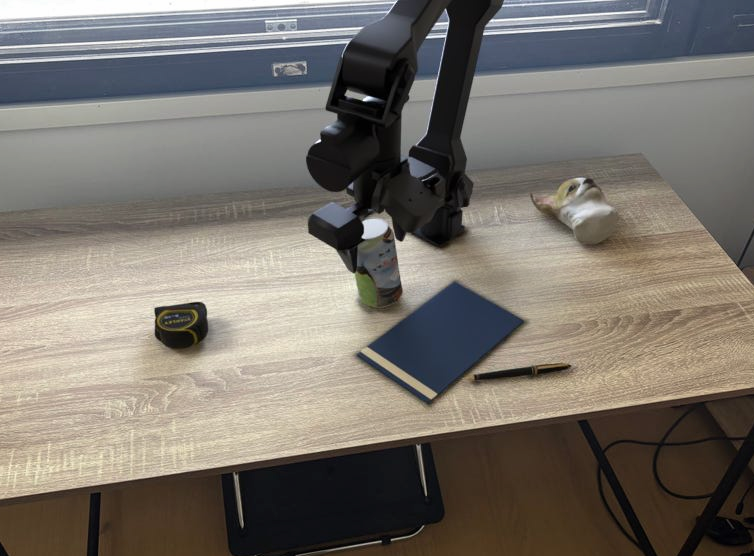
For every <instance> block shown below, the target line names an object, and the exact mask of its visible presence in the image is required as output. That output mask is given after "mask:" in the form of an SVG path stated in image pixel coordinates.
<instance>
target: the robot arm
mask: <svg viewBox="0 0 754 556" xmlns="http://www.w3.org/2000/svg"><path fill="white" fill-rule="evenodd" d="M504 1H505V0H396V1H395V2H394V4H393V5H392V6H391V8H390V9H389V11H388V12H387V13H386V14H385V16H384V17H382V18H381V19H378V20H375V21H373V22H370V23H369V24H366V25H364V26H363V27H362V28H361V29H360V30H359V31H358V32H357V33H356V34H355V35H354V36H353V37H352V38H351V39H350V40H349V41H348V43H346V45H345V47H344V48H343V50H342V51H341V54H340V56H339V59H338V63H337V66H336V70H335V73H334V76H333V80H332V83H331V87H330V90H329V94H328V97H327V100H326V104H325V111H326V112H329V113H332V114H336V119H337V120H336V121H333V123H331V124H330V125H327V126H325V127H324V128H323V129H321V131H320V133H319V139H318V140H317V141H316V142H315V143H314V144H312V145H311V146H310V147H309V148H308V150H307V155H306V156H305V164H306V168H307V170H308V173H309V174H310V177H311V178H312V179H313V181H314V182H315V183H316V184H317V185H318V186H320V187H321V188H322V189H324V190H326V191H328V192H331V193H341V192H343V191H346V194H347V195H348V196H350V197H352V198H353V199H354V202H355V203H354V204H352V205H351V206H349V207H347V208H344V207H342V206H341V205H339V204H337V203H335V202H333V201H331V202H330V203H328V204H326V205H325V206H323V207H321V208H319V209H318V210H316V211H314V212H313V213H311V214H309V216H307V230H308V231H307V232H308V234H309V235H311V236H312V237H314V238H315V239H317V240H319V241H320V242H322V243H324V244H325V245H328V246H329V247H331V248H332V249H335V251H336V253H337V254H338V256H339V258H340V259H341V262H343V264H344V265H345V267H346V269H347V270H348V271H349V272H350V273H352V274H355V272H356V269H357V257H358V245H359V244H361V243H362V242H364V241H365V239H364V238H362V236H363V234H364V225H363V223H362V222H363V221H365V220H366V219H368V218H372V217H373V216H374V215H376V214H378V215H380V214H382V213H384V212H386V214H387V215H388V216H389V217H390V218H391V222H392V223H391V224H392V231H393V233H394V238H395V240H397V241H398V242H404V240H405V238H406V236H407V234H413V235H415V236H416V237H418V238H420V239H423V241H426V242H427V243H429V244H431V245H433V246H435V247H436V248H441V247H442V246H444V245H446V244H447V243H448V242H450V241H451V240H453V239H454V238H456V237H457V236H458V235H459V234H460V235H461V233H463V232H465V230H466V226H465V225H464V224H462V223H463V215H464V211H463V210H462V209H463V208H468V207H469V206H470V202H471V197H472V194H473V189H474V182H473V181H472V180H471V179H470V177H469V176H468V175H467V174H466V167H467V161H468V158H467V157H468V156H467V154H466V150H465V148H464V145H463V141H462V138H461V136H462V132H463V127H464V122H465V118H466V113H467V108H468V104H469V101H470V100H469V99H470V95H471V91H472V87H473V83H474V79H475V78H474V77H475V73H476V69H477V64H478V59H479V55H480V50H481V45H482V41H483V38H484V32H485V29H486V26H487V25H488V24H489V23H490V22H491V20H492V19H493V18H494V17H495V16H496V15H497V14H498V13H499V11H500V10H501V9H502V7H503V5H504ZM444 12H445V13H446V16H447V20H448V23H447V28H446V33H445V39H444V43H443V48H442V53H441V57H440V63H439V68H438V73H437V79H436V83H435V88H434V93H433V98H432V103H431V108H430V114H429V117H428V123H427V127H426V128H427V129H426V133H425V134H424V135H423V136H422V138H421V139H420V140H418V142H417V143H416V144H413V145H412V146H411V147H410V149H409V150H408V156H407V157H406V156H404V155H402V118H403V116H402V115H403V109H404V107H405V104H406V103H408V102H409V101H410V95H409V94H410V92H411V89H412V87H413V85H414V82H415V78H416V75H417V74H418V71H419V66H418V65H419V64H418V63H419V62H418V53H419V50H420V49H421V46H422V45H423V43H424V42H425V40H426V39H427V37H428V36H429V35H430V33H431V31H432V29H433V28H434V27H435V25H436V24H437V22H438V21H439V19H440V18H441V16H442V15H443V14H444ZM347 91H349V92H352V93H355V94H360V95H363V96H366V97H364V98H363V99H359V98H355V97H351V96H347V95H346V93H347Z"/></svg>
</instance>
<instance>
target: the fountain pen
mask: <svg viewBox="0 0 754 556" xmlns="http://www.w3.org/2000/svg"><path fill="white" fill-rule="evenodd" d="M571 367H573V365H571V364H569V363H561V362H560V363H545V364H536V365H529V366H524V367H517V368H508V369H500V370H495V371H488V372H482V373H481V372H480V373H475V374H473V375H472V376H471V375H470V376H466V377H463V378H462V380H467V381H471V380H474V381H488V380H497V379H498V380H499V379H507V378H508V379H510V378H516V377H517V378H518V377H525V376H539V375H547V374H553V373H558V372H562V371H567V370H568V369H570V368H571Z"/></svg>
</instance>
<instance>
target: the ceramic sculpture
mask: <svg viewBox="0 0 754 556" xmlns="http://www.w3.org/2000/svg"><path fill="white" fill-rule="evenodd" d="M529 197H530V199H531V200H530V201H531V202H532V204H533V206H534V207H535V208H536V209H537V211H538V212H540V213H541V214H543V215H545V216H549V217H551V218H554V219H558V220H559V221H560V222H562V223H563V224H564V225H566V226H567V227H568V228H569V229H571V230H572V231H573V235H574V237H575V239H576V241H577V242H578V243H579V244H582V245H597V244H599V243H601V242H602V241H604V240H605V239H608V238H609V237H610V236H611V235H612V234H613V233H614V231H615V230H616V228H617V225H618V222H619V220H620V218H621V217H620V214H619V211H618V209H617V208H616V207H613V206H611V205H609V202H608V200H607V197H606V196H605V194H604V192H603V190H602V188H601V186H600V185H599V184H598V183H597V182H596V181H594V180H593V178H590V177H589V178H588V177H576V178H575V177H574V178H570V179H568V180H566V181H564V182H563V183H561V185H560V186H559V188H558V190H557V192H556V194H555V195H551V194H545V193H544V194H536V193H533V192H529Z"/></svg>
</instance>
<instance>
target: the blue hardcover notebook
mask: <svg viewBox="0 0 754 556" xmlns="http://www.w3.org/2000/svg"><path fill="white" fill-rule="evenodd" d="M524 323H525V320H524V319H523V318H521V317H519V316H517V315H515V314H514V313H512V312H510V311H509V310H506V309H505V308H503V307H502V306H499V305H498V304H496V303H494V302H493V301H491V300H489V299H487V298H485V297H483V296H482V295H480V294H478V293H476V292H475V291H472V290H471V289H469V288H467V287H466V286H464V285H462V284H460V283H459V282H456V281H453V282H452V283H450V284H449V285H447V286H446V287H445V288H444V289H442V290H441V291H440V292H438V293H437V294H436V295H434V296H433V297H431V298H430V299H429V300H428V301H426V302H425V303H424V304H422V305H421V306H420V307H418V308H417V309H416V310H414V311H412V312H411V313H410V314H409V315H407V316H406V317H405V318H403V319H402V320H401V321H399V322H398V323H397V324H395V325H393V327H391V328H390V329H389V330H387V331H386V332H385V333H383V334H382V335H380V336H379V337H377V339H375V340H374V341H373V342H371V343H370V344H369V345H367V346H365V347H364V348H363V349H361V350H359V352H358V353H356V356H357V357H358V358H359V359H361V360H362V361H364V363H367V364H368V365H369V366H371V367H372V368H374V369H375V370H377V371H378V372H379V373H381V374H383V375H384V376H385V377H387V379H389V380H391V381H392V382H394V383H396V384H397V385H399V386H400V387H402V388H403V389H404V390H406V391H408V392H409V393H410V394H411V395H413V396H415V397H416V398H417V399H419V400H421V401H422V402H424V404H426V405H429V404H430V403H432V402H433V401H434V400H435V399H436V398H438V396H440V395H441V394H442V393H444V391H446V390H447V389H448V388H449V387H450V386H452V385H453V384H454V383H455V382H456V381H458V380H459V378H461V377H462V376H464V374H466V373H467V372H468V371H469V370H470V369H472V368H473V366H475V365H476V364H477V363H479V362H480V361H481V360H482V359H483V358H484V357H485V356H487V354H489V353H490V352H491V351H492V350H494V349H495V348H496V347H497V346H498V345H499V344H500V343H502V342H503V341H505V339H506V338H508V337H509V336H510V335H511V334H512V333H514V331H516V330H517V329H518V328H519V327H520V326H522V325H523V324H524Z"/></svg>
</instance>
